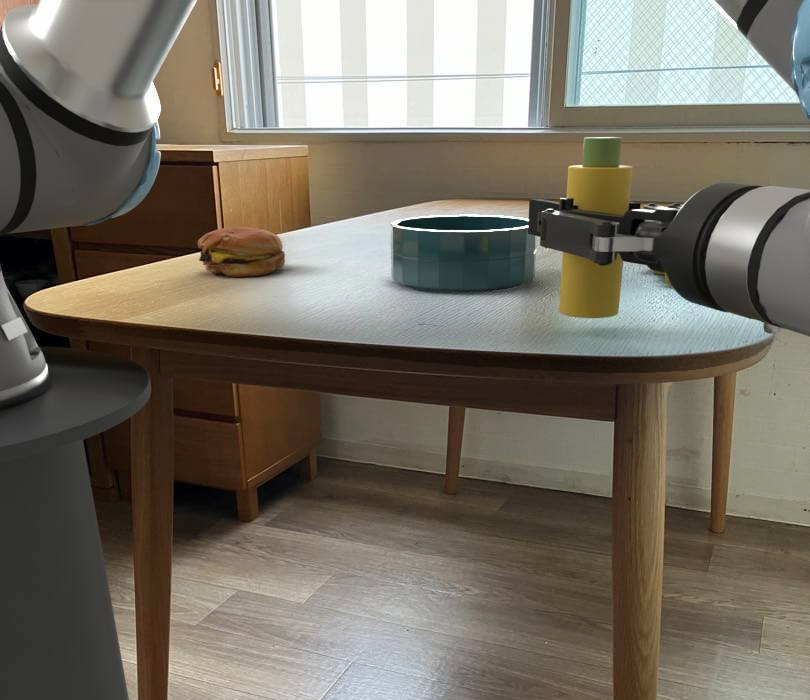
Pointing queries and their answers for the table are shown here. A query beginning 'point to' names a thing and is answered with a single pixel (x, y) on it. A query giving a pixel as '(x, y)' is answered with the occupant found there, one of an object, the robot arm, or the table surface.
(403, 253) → the teal pet bowl
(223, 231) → the burger
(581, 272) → the yellow bottle green cap
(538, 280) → the table surface
